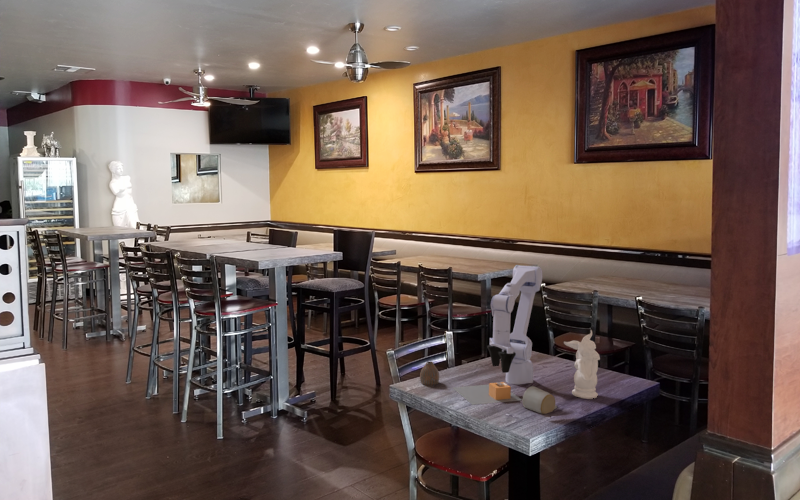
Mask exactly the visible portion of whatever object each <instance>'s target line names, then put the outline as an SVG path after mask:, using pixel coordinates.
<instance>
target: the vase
mask: <svg viewBox="0 0 800 500" xmlns="http://www.w3.org/2000/svg"><path fill="white" fill-rule="evenodd" d="M419 380H420V383H421V384H422V385H424V386H431V387H432V386H437V385H438V384H439V382H440V372H439V370H438V368H437V366H436V365H435V364H434V362H433V361H427V362H426V363H425V364H424V366H422V368H421V370H420V373H419Z"/></svg>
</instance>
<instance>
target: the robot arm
mask: <svg viewBox="0 0 800 500" xmlns="http://www.w3.org/2000/svg"><path fill="white" fill-rule="evenodd" d="M542 282H543V269H542V268H541V266H538V265H537V266H533V265H519V264H516V265H515V266H514V267H513V269H512V279H511V281H510V282H507V283H506V284H505V285H504V286H503V287H502V289H501V290H500V292H499V293H498V294H495V295H493V296H492V298H491V301H490V309H491V315H492V317H493V318H492V321H493V322H492V337H489V344H488V345H487V346H486V348H487V350H488V352H489V355H490V359H491V365H492V367H499V366H501V372H502V373H504V374H505V383H506V384H510V385H518V386H519V385H525V384H531V383H534V364H533V361H532V360H531V357H532V353H533V352H532V347H533V342H532V340H531V339H530V337H528V336H527V332H528V327H529V325H530V324H529V323H530V318H531V313H532V310H533V304H534V299H535V296H536V293H537V292H539V291H541V287H542ZM519 295H520V297H519ZM517 297H519V301H518V307H517V311H516V316H515V320H514V326H513V330H512V332H511V313H512V312H513V310H514V306H515V303H516V302H515V301H516V299H517Z"/></svg>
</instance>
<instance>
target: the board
mask: <svg viewBox="0 0 800 500" xmlns="http://www.w3.org/2000/svg"><path fill="white" fill-rule="evenodd" d="M452 389H453V390H454V391H455V392H457V393H458V394H459V396H461V397H462V398H464V399H465V401H467V402H468V403H469V404H470V405H472V406H475V405H476V406H477V405H485V404H494V403H495V404H497V403H506V402H507V403H509V402H516V401H517V402H518V401H522V400H523V398H520V396H518V395H516V394H515V393H513V392H512V391H511V399H501V400H495V399H494V398H492V397H491V396H490V395H489V384H480V385H479V384H478V385H469V386H468V385H466V386H456V387H452Z"/></svg>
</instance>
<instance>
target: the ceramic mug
mask: <svg viewBox="0 0 800 500" xmlns="http://www.w3.org/2000/svg"><path fill="white" fill-rule="evenodd" d="M521 401H522V405H523V407H524V408H525V409H527V410H530V411H532V412H535V413H539V414H541V415H545V414H549V413H553V411H554V410H556V409H557V408H558V406H557V405H556V398H555V396H554V395H552V394H551V393H550V392H548V391H546V390H543V389H541V388H539V387H536V386H529V387H528V388H526V390H525V391H524V392H523V395H522V400H521Z"/></svg>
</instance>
